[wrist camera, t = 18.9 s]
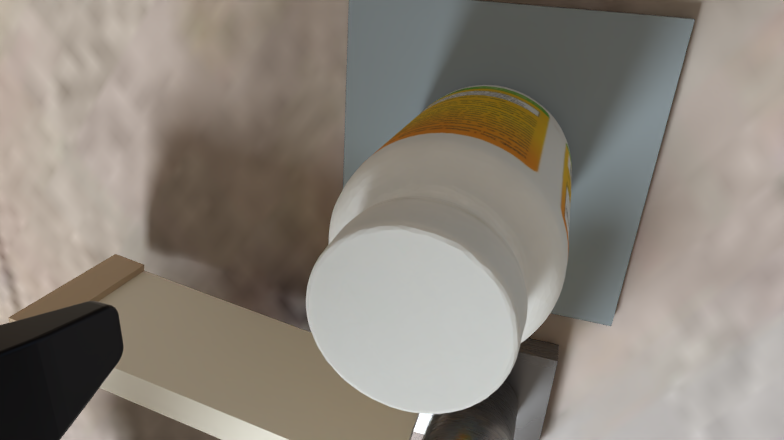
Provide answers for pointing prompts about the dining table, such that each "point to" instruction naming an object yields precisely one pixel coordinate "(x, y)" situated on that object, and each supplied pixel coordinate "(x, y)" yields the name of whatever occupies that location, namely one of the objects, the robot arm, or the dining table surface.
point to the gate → (222, 363)
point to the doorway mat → (546, 86)
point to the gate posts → (503, 403)
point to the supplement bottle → (445, 252)
